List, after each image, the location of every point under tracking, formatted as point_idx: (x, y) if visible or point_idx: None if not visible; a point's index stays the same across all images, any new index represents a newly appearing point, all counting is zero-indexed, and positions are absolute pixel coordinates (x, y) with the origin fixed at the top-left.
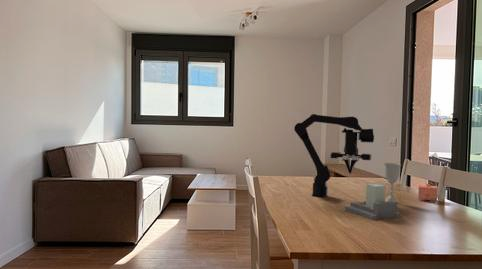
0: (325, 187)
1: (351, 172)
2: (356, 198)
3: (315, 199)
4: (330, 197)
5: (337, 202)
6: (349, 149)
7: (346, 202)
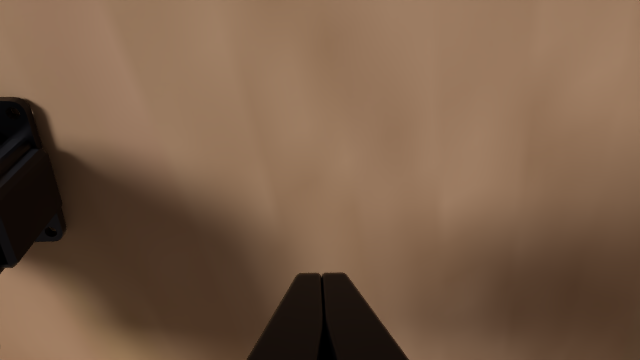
0: (4, 266)
1: (353, 290)
2: (397, 84)
3: (53, 342)
4: (121, 195)
5: None
6: None
7: None
